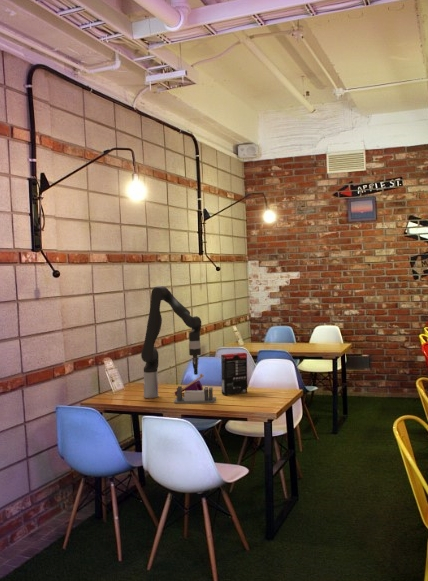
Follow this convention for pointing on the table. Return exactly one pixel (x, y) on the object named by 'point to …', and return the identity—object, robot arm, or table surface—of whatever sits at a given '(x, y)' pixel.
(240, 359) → the graphics card box
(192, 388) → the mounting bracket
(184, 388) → the strap
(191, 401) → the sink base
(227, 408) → the table surface
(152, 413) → the table surface
